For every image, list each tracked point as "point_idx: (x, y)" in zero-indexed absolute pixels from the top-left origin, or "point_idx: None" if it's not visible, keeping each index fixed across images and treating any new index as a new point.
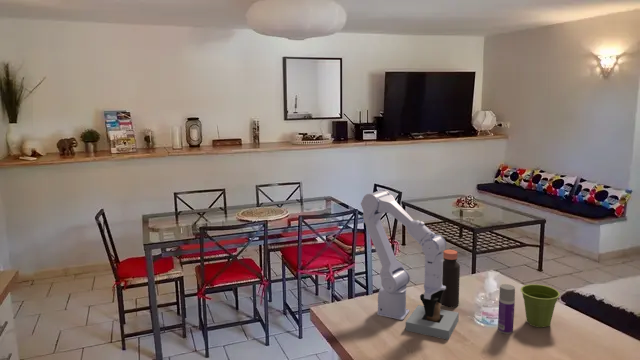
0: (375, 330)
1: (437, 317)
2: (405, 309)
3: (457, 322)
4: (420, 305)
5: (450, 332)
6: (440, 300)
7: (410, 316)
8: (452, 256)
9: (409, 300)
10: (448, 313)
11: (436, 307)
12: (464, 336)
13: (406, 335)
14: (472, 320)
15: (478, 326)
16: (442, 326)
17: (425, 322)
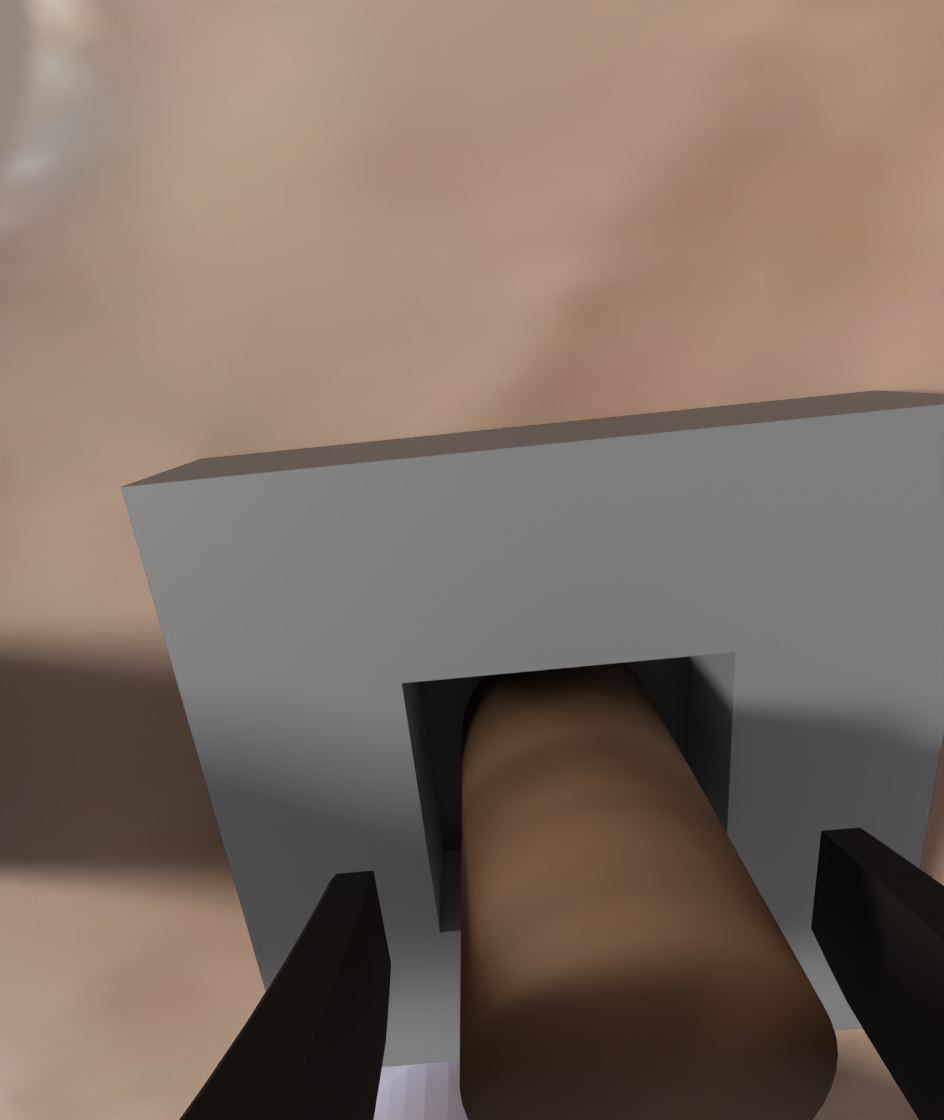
0: None
1: (654, 742)
2: (467, 1118)
3: (268, 452)
4: None
5: (793, 406)
6: (280, 1007)
7: None
8: None
9: (83, 1113)
10: (281, 641)
11: (781, 953)
12: (661, 191)
13: (931, 864)
14: (18, 251)
15: (163, 65)
16: (853, 562)
17: (808, 829)
